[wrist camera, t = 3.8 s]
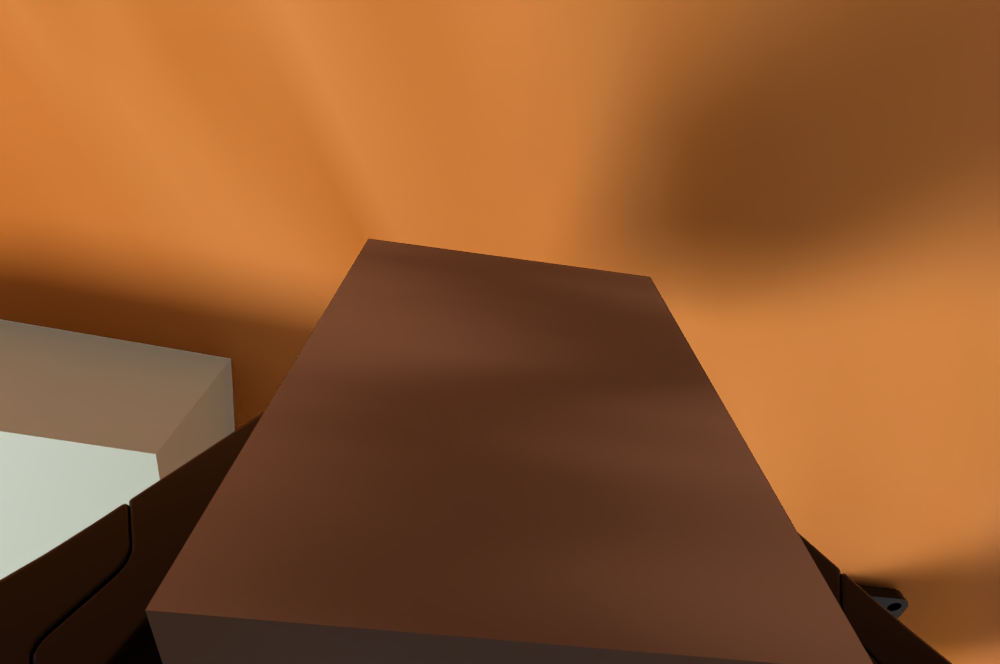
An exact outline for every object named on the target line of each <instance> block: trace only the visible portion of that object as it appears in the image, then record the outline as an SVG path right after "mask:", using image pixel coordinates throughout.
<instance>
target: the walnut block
mask: <svg viewBox="0 0 1000 664" xmlns="http://www.w3.org/2000/svg"><path fill="white" fill-rule="evenodd" d="M145 611H146V614H147V617H148V620H149V624H150V627H151V630H152V633H153V636H154V639H155V642H156V645H157V648H158V651H159V654H160V657H161V660H162V663H163V664H873V663H872V661H871V659H870V657H869V656H868V654H867V652H866V650H865V649H864V647H863V645H862V643H861V642H860V640H859V638H858V637H857V635H856V633H855V631H854V630H853V628H852V626H851V624H850V623H849V621H848V619H847V617H846V616H845V614H844V612H843V611H842V609H841V607H840V605H839V604H838V602H837V600H836V598H835V597H834V595H833V593H832V591H831V590H830V588H829V586H828V585H827V583H826V581H825V579H824V578H823V576H822V574H821V572H820V571H819V569H818V567H817V565H816V564H815V562H814V560H813V558H812V557H811V555H810V553H809V552H808V550H807V548H806V546H805V545H804V543H803V541H802V539H801V538H800V536H799V534H798V532H797V531H796V529H795V527H794V526H793V524H792V522H791V520H790V519H789V517H788V515H787V513H786V512H785V510H784V508H783V506H782V505H781V503H780V501H779V500H778V498H777V496H776V494H775V493H774V491H773V489H772V487H771V486H770V484H769V482H768V480H767V479H766V477H765V475H764V474H763V472H762V470H761V468H760V467H759V465H758V463H757V461H756V460H755V458H754V456H753V454H752V453H751V451H750V449H749V448H748V446H747V444H746V442H745V441H744V439H743V437H742V435H741V434H740V432H739V430H738V428H737V427H736V425H735V423H734V422H733V420H732V418H731V416H730V415H729V413H728V411H727V409H726V408H725V406H724V404H723V402H722V401H721V399H720V397H719V395H718V394H717V392H716V390H715V389H714V387H713V385H712V383H711V382H710V380H709V378H708V376H707V375H706V373H705V371H704V369H703V368H702V366H701V364H700V363H699V361H698V359H697V357H696V356H695V354H694V352H693V350H692V349H691V347H690V345H689V343H688V342H687V340H686V338H685V337H684V335H683V333H682V331H681V330H680V328H679V326H678V324H677V323H676V321H675V319H674V317H673V316H672V314H671V312H670V311H669V309H668V307H667V305H666V304H665V302H664V300H663V298H662V297H661V295H660V293H659V291H658V290H657V288H656V286H655V285H654V283H653V281H652V279H651V278H650V277H646V276H639V275H632V274H624V273H617V272H610V271H602V270H595V269H588V268H580V267H573V266H566V265H558V264H551V263H544V262H536V261H529V260H522V259H514V258H507V257H500V256H492V255H485V254H477V253H470V252H463V251H455V250H448V249H441V248H433V247H426V246H419V245H411V244H404V243H397V242H389V241H382V240H375V239H368V240H367V242H366V244H365V245H364V247H363V249H362V250H361V252H360V254H359V255H358V257H357V259H356V260H355V262H354V264H353V265H352V267H351V269H350V270H349V272H348V274H347V275H346V277H345V279H344V280H343V282H342V284H341V285H340V287H339V289H338V290H337V292H336V294H335V295H334V297H333V299H332V300H331V302H330V304H329V305H328V307H327V309H326V310H325V312H324V313H323V315H322V317H321V318H320V320H319V322H318V323H317V325H316V327H315V328H314V330H313V332H312V333H311V335H310V337H309V338H308V340H307V342H306V343H305V345H304V347H303V348H302V350H301V352H300V353H299V355H298V357H297V358H296V360H295V362H294V363H293V365H292V367H291V368H290V370H289V372H288V373H287V375H286V377H285V378H284V380H283V382H282V383H281V385H280V387H279V388H278V390H277V392H276V393H275V395H274V397H273V398H272V400H271V402H270V403H269V405H268V407H267V408H266V410H265V412H264V413H263V415H262V417H261V418H260V420H259V422H258V423H257V425H256V427H255V428H254V430H253V432H252V433H251V435H250V437H249V438H248V440H247V442H246V443H245V445H244V447H243V448H242V450H241V452H240V453H239V455H238V457H237V458H236V460H235V462H234V463H233V465H232V467H231V468H230V470H229V471H228V473H227V475H226V476H225V478H224V480H223V481H222V483H221V485H220V486H219V488H218V490H217V491H216V493H215V495H214V496H213V498H212V500H211V501H210V503H209V505H208V506H207V508H206V510H205V511H204V513H203V515H202V516H201V518H200V520H199V521H198V523H197V525H196V526H195V528H194V530H193V531H192V533H191V535H190V536H189V538H188V540H187V541H186V543H185V545H184V546H183V548H182V550H181V551H180V553H179V555H178V556H177V558H176V560H175V561H174V563H173V565H172V566H171V568H170V570H169V571H168V573H167V575H166V576H165V578H164V580H163V581H162V583H161V585H160V586H159V588H158V590H157V591H156V593H155V595H154V596H153V598H152V600H151V601H150V603H149V605H148V606H147V608H146V610H145Z"/></svg>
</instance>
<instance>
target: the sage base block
mask: <svg viewBox="0 0 1000 664" xmlns="http://www.w3.org/2000/svg"><path fill="white" fill-rule="evenodd" d="M234 431H235V423H234V404H233V385H232V366H231V358H226V357H220V356H214V355H208V354H202V353H197V352H191V351H185V350H179V349H173V348H167V347H161V346H155V345H150V344H144V343H138V342H132V341H126V340H120V339H114V338H108V337H102V336H97V335H91V334H85V333H79V332H73V331H67V330H61V329H55V328H50V327H44V326H38V325H32V324H26V323H20V322H14V321H8V320H2V319H0V580H1V579H2V578H4V577H6V576H8V575H9V574H11V573H13V572H14V571H16V570H18V569H20V568H21V567H23V566H25V565H26V564H28V563H30V562H32V561H33V560H35V559H37V558H38V557H40V556H42V555H44V554H45V553H47V552H49V551H50V550H52V549H53V548H55V547H56V546H58V545H60V544H61V543H63V542H64V541H66V540H68V539H69V538H71V537H72V536H74V535H76V534H77V533H79V532H80V531H82V530H84V529H85V528H87V527H88V526H90V525H92V524H93V523H95V522H96V521H98V520H99V519H101V518H102V517H104V516H105V515H107V514H108V513H110V512H111V511H113V510H114V509H116V508H118V507H119V506H121V505H122V504H128V505H129V501H130V499H132V498H133V497H135V496H136V495H138V494H139V493H141V492H142V491H144V490H145V489H147V488H148V487H150V486H151V485H153V484H155V483H156V482H158V481H159V480H161V479H162V478H164V477H165V476H167V475H168V474H170V473H171V472H173V471H174V470H176V469H177V468H179V467H180V466H182V465H184V464H185V463H187V462H188V461H190V460H191V459H193V458H194V457H196V456H197V455H199V454H200V453H202V452H203V451H205V450H206V449H208V448H209V447H211V446H212V445H214V444H216V443H217V442H219V441H220V440H222V439H223V438H225V437H226V436H228V435H229V434H231V433H232V432H234Z"/></svg>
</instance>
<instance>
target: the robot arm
mask: <svg viewBox="0 0 1000 664" xmlns="http://www.w3.org/2000/svg"><path fill="white" fill-rule="evenodd" d="M264 412H265V411H264ZM264 412H263V413H264ZM263 413H261V414H260V415H258V416H257V417H255V418H254V419H252V420H251V421H249V422H248V423H246V424H244V425H243V426H241V427H240V428H238V429H237V430H235V431H234V432H232V433H231V434H229V435H228V436H226V437H225V438H223V439H222V440H220V441H219V442H217V443H216V444H214V445H212V446H211V447H209V448H208V449H206V450H205V451H203V452H202V453H200V454H199V455H197V456H196V457H194V458H193V459H191V460H190V461H188V462H187V463H185V464H184V465H182V466H180V467H179V468H177V469H176V470H174V471H173V472H171V473H170V474H168V475H167V476H165V477H164V478H162V479H161V480H159V481H158V482H156V483H155V484H153V485H151V486H150V487H148V488H147V489H145V490H144V491H142V492H141V493H139V494H138V495H136V496H135V497H133V498H132V499H130V501H129V505H128V504H122V505H121V506H119V507H118V508H116V509H114V510H113V511H111V512H110V513H108V514H107V515H105V516H104V517H102V518H101V519H99V520H98V521H96V522H95V523H93V524H92V525H90V526H88V527H87V528H85V529H84V530H82V531H80V532H79V533H77V534H76V535H74V536H72V537H71V538H69V539H68V540H66V541H64V542H63V543H61V544H60V545H58V546H56V547H55V548H53V549H52V550H50V551H49V552H47V553H45V554H44V555H42V556H40V557H38V558H37V559H35V560H33V561H32V562H30V563H28V564H26V565H25V566H23V567H21V568H20V569H18V570H16V571H14V572H13V573H11V574H9V575H8V576H6V577H4V578H2V579H1V580H0V664H163V663H162V660H161V657H160V654H159V651H158V648H157V645H156V642H155V639H154V636H153V633H152V630H151V627H150V624H149V620H148V617H147V614H146V611H145V610H146V608H147V606H148V605H149V603H150V601H151V600H152V598H153V596H154V595H155V593H156V591H157V590H158V588H159V586H160V585H161V583H162V581H163V580H164V578H165V576H166V575H167V573H168V571H169V570H170V568H171V566H172V565H173V563H174V561H175V560H176V558H177V556H178V555H179V553H180V551H181V550H182V548H183V546H184V545H185V543H186V541H187V540H188V538H189V536H190V535H191V533H192V531H193V530H194V528H195V526H196V525H197V523H198V521H199V520H200V518H201V516H202V515H203V513H204V511H205V510H206V508H207V506H208V505H209V503H210V501H211V500H212V498H213V496H214V495H215V493H216V491H217V490H218V488H219V486H220V485H221V483H222V481H223V480H224V478H225V476H226V475H227V473H228V471H229V470H230V468H231V467H232V465H233V463H234V462H235V460H236V458H237V457H238V455H239V453H240V452H241V450H242V448H243V447H244V445H245V443H246V442H247V440H248V438H249V437H250V435H251V433H252V432H253V430H254V428H255V427H256V425H257V423H258V422H259V420H260V418H261V417H262V415H263ZM798 534H799V533H798ZM799 536H800V538H801V539H802V541H803V543H804V545H805V546H806V548H807V550H808V552H809V553H810V555H811V557H812V558H813V560H814V562H815V564H816V565H817V567H818V569H819V571H820V572H821V574H822V576H823V578H824V579H825V581H826V583H827V585H828V586H829V588H830V590H831V591H832V593H833V595H834V597H835V598H836V600H837V602H838V604H839V605H840V607H841V609H842V611H843V612H844V614H845V616H846V617H847V619H848V621H849V623H850V624H851V626H852V628H853V630H854V631H855V633H856V635H857V637H858V638H859V640H860V642H861V643H862V645H863V647H864V649H865V650H866V652H867V654H868V656H869V657H870V659H871V661H872V663H873V664H952V663H950V662H949V661H948V660H947V659H945V658H944V657H943V656H942V655H940V654H939V653H938V652H937V651H936V650H934V649H933V648H932V647H931V646H929V645H928V644H927V643H926V642H924V641H923V640H922V639H921V638H919V637H918V636H917V635H916V634H914V633H913V632H912V631H911V630H910V629H908V628H907V627H906V626H905V625H904V624H902V623H901V622H900V621H899V620H898V619H897V618H898V617H899V616H900V615H901V614H902V613H903V612H904V610H905V609H906V608H907V606H908V602H907V600H906V599H905V597H904V596H903V595H902V593H901V592H900V591H899V590H895V589H887V588H876V587H866V586H858V585H857V584H856V583H855V582H854V581H853V580H851V579H850V578H849V577H848V576H847V575H846V574H840V570H839V568H838V567H836V566H835V565H834V564H833V563H832V562H831V561H830V560H828V559H827V558H826V557H825V556H824V555H823V554H822V553H821V552H819V551H818V550H817V549H816V548H815V547H814V546H813V545H811V544H810V543H809V542H808V541H807V540H806V539H805V538H803V537H802V536H801V535H800V534H799Z"/></svg>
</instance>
